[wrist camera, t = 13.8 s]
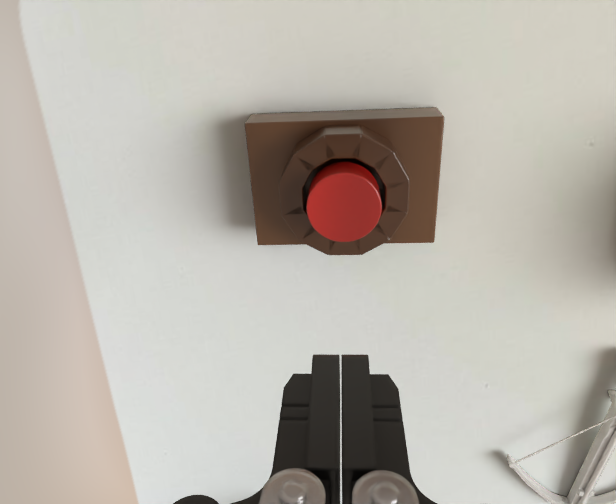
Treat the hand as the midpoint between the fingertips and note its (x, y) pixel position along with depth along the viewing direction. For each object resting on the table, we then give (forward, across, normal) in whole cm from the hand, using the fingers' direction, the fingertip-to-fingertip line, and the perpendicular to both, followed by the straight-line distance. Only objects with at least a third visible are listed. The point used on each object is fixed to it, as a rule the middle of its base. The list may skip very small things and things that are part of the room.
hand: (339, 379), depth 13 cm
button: (+13, 0, 0) cm, 13 cm away
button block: (+17, 0, 0) cm, 17 cm away
